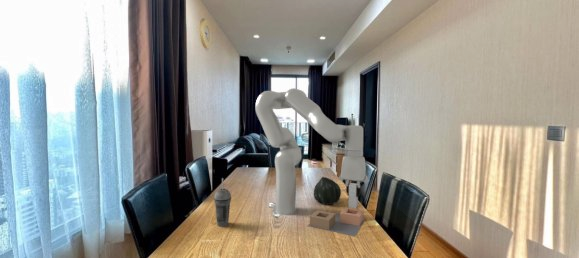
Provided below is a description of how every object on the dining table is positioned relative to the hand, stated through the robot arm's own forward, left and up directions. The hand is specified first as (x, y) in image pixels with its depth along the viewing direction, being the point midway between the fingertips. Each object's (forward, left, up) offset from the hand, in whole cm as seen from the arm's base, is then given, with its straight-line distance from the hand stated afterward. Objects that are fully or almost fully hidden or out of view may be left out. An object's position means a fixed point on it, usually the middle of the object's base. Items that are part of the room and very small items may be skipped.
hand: (353, 195), depth 118 cm
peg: (0, 0, -5) cm, 5 cm away
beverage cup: (-49, -28, -13) cm, 58 cm away
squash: (-19, +22, -13) cm, 32 cm away
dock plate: (-5, -5, -13) cm, 15 cm away
